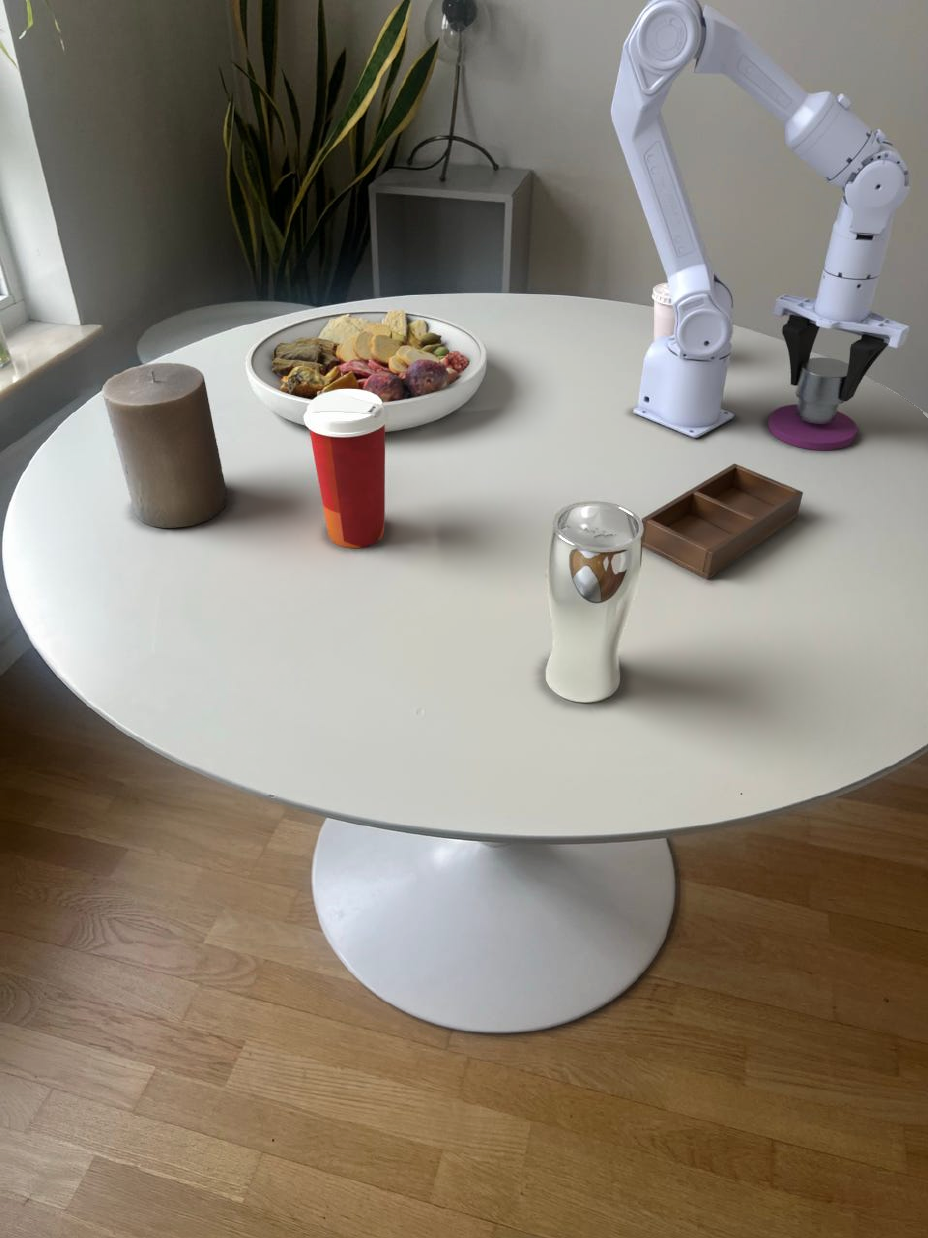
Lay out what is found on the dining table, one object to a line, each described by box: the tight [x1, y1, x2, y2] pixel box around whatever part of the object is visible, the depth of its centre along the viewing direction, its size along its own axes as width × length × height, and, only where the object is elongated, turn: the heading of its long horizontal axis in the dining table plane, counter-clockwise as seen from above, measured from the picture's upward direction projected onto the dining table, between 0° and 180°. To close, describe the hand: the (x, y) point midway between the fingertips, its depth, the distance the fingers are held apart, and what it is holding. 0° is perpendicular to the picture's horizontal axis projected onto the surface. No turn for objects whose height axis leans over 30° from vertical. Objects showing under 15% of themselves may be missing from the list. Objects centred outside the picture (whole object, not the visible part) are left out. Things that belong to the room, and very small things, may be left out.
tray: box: [641, 463, 804, 580], centre depth 93 cm, size 8×16×3 cm, turn 133°
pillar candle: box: [101, 362, 228, 529], centre depth 93 cm, size 10×10×15 cm
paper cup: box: [304, 389, 388, 549], centre depth 89 cm, size 8×8×14 cm
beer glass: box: [545, 500, 644, 704], centre depth 72 cm, size 7×7×15 cm
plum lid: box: [767, 403, 858, 451], centre depth 111 cm, size 10×10×1 cm
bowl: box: [245, 309, 488, 433], centre depth 117 cm, size 30×30×8 cm
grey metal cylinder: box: [795, 356, 849, 424], centre depth 108 cm, size 6×6×6 cm
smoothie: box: [651, 282, 676, 342], centre depth 122 cm, size 6×6×14 cm
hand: (821, 390), depth 108 cm, fingers closed on grey metal cylinder, 5 cm apart
